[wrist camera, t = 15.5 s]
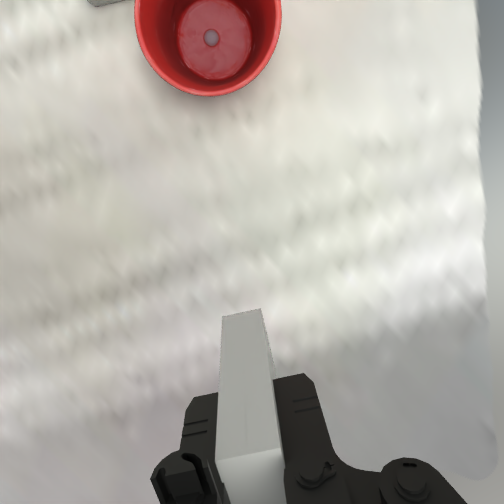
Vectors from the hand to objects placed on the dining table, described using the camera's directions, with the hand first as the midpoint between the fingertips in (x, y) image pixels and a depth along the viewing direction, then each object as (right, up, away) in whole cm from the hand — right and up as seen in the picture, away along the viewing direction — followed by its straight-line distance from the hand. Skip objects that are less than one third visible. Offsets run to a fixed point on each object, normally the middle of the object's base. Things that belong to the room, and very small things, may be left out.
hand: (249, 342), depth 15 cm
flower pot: (-4, +24, +23) cm, 33 cm away
